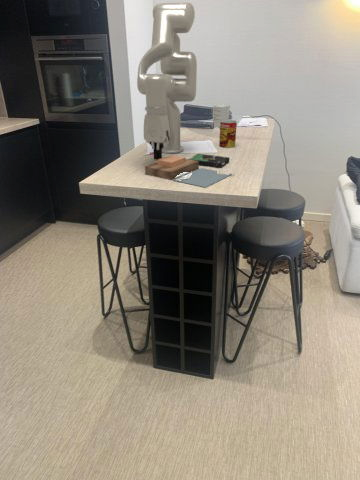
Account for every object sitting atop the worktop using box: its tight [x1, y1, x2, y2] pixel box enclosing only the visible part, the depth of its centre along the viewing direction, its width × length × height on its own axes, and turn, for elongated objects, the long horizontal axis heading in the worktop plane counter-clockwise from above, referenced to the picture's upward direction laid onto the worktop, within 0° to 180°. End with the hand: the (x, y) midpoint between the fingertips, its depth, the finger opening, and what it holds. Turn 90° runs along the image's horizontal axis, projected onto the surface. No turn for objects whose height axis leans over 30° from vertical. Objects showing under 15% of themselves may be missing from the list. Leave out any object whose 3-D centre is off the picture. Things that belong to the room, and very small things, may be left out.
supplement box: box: [212, 104, 230, 129], centre depth 229 cm, size 7×7×13 cm
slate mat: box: [172, 167, 231, 189], centre depth 140 cm, size 14×19×1 cm
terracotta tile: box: [156, 154, 186, 168], centre depth 146 cm, size 7×9×2 cm
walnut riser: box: [144, 158, 200, 181], centre depth 147 cm, size 13×18×3 cm
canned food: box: [218, 119, 238, 149], centre depth 183 cm, size 8×8×12 cm
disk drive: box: [189, 153, 230, 169], centre depth 158 cm, size 10×3×15 cm
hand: (157, 158), depth 150 cm, fingers closed
